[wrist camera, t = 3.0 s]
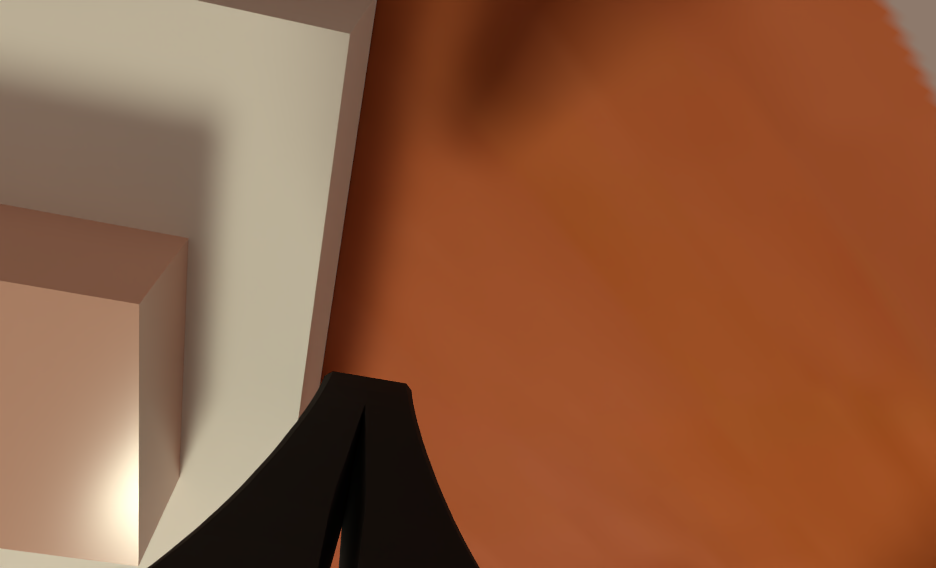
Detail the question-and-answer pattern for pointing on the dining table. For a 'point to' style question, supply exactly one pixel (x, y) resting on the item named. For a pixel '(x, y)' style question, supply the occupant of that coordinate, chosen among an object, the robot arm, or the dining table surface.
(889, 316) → the dining table surface
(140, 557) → the block
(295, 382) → the cream square platform
